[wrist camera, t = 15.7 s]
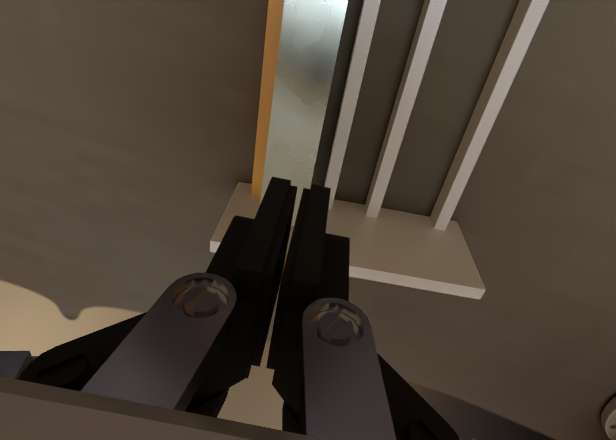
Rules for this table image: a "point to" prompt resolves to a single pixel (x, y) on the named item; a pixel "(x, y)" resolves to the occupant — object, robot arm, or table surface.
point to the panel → (302, 90)
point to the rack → (371, 217)
